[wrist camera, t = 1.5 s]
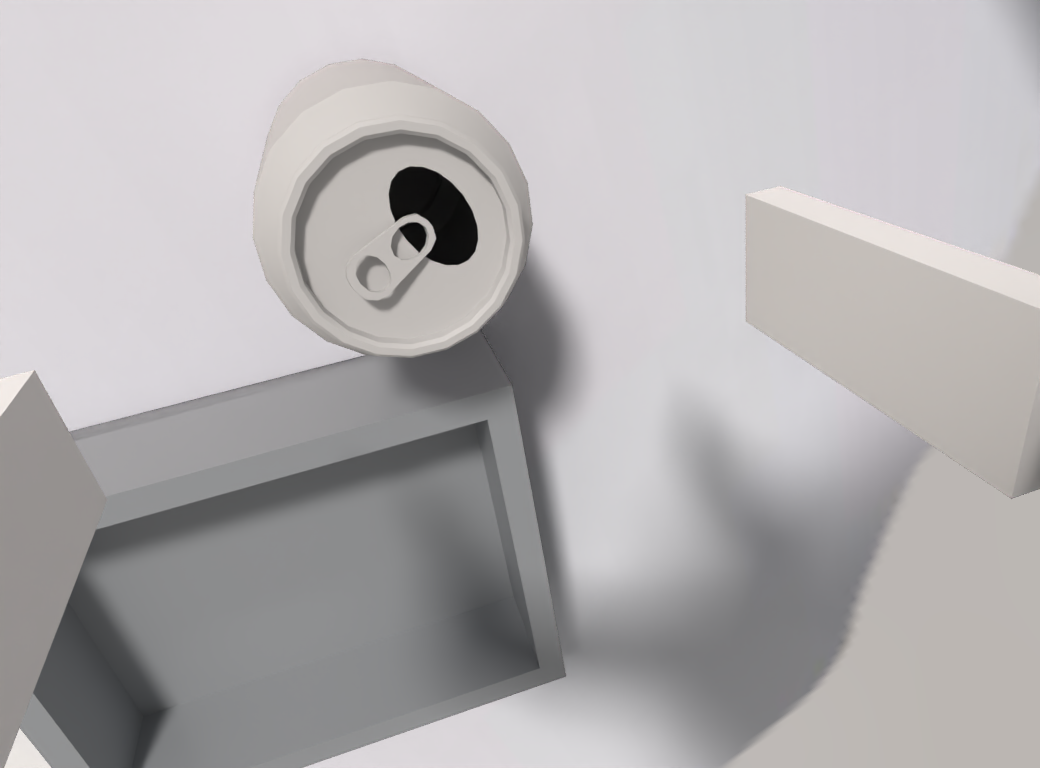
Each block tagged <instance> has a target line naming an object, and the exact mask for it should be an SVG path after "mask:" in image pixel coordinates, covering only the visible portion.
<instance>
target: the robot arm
mask: <svg viewBox="0 0 1040 768" xmlns="http://www.w3.org/2000/svg"><path fill="white" fill-rule="evenodd" d="M746 322H747V323H749V324H750V325H752V326H753V327H755V328H756V329H758V330H759V331H761V332H762V333H764V334H765V335H767V336H768V337H770V338H771V339H773V340H774V341H776V342H777V343H779V344H780V345H782V346H783V347H785V348H786V349H788V350H789V351H791V352H792V353H794V354H795V355H797V356H798V357H800V358H801V359H803V360H804V361H806V362H807V363H809V364H810V365H812V366H813V367H815V368H816V369H818V370H819V371H821V372H822V373H824V374H825V375H827V376H828V377H830V378H831V379H833V380H834V381H836V382H837V383H839V384H840V385H842V386H843V387H845V388H846V389H848V390H849V391H851V392H852V393H854V394H855V395H857V396H858V397H860V398H861V399H863V400H864V401H866V402H867V403H869V404H870V405H872V406H873V407H875V408H876V409H878V410H879V411H881V412H882V413H884V414H885V415H887V416H888V417H890V418H891V419H893V420H894V421H896V422H897V423H899V424H900V425H902V426H903V427H905V428H906V429H908V430H909V431H911V432H912V433H914V434H915V435H917V436H918V437H920V438H921V439H923V440H924V441H926V442H927V443H929V444H930V445H932V446H933V447H935V448H936V449H938V450H939V451H941V452H942V453H944V454H945V455H947V456H948V457H950V458H951V459H953V460H954V461H956V462H957V463H959V464H960V465H962V466H963V467H965V468H966V469H968V470H970V471H971V472H972V473H974V474H975V475H977V476H978V477H980V478H981V479H983V480H984V481H986V482H987V483H989V484H990V485H992V486H993V487H995V488H996V489H998V490H999V491H1001V492H1002V493H1004V494H1005V495H1007V496H1008V497H1010V498H1011V499H1012V498H1015V497H1018V496H1021V495H1024V494H1027V493H1029V492H1032V491H1035V490H1038V489H1040V275H1038V274H1035V273H1032V272H1030V271H1026V270H1023V269H1021V268H1018V267H1015V266H1012V265H1009V264H1006V263H1003V262H1000V261H998V260H995V259H992V258H989V257H986V256H983V255H980V254H977V253H974V252H971V251H968V250H965V249H963V248H960V247H957V246H954V245H951V244H948V243H945V242H942V241H939V240H936V239H933V238H930V237H928V236H925V235H922V234H919V233H916V232H913V231H910V230H907V229H904V228H901V227H898V226H895V225H893V224H890V223H887V222H884V221H881V220H878V219H875V218H872V217H869V216H866V215H863V214H860V213H858V212H855V211H852V210H849V209H846V208H843V207H840V206H837V205H834V204H831V203H828V202H825V201H823V200H820V199H817V198H814V197H811V196H808V195H805V194H802V193H799V192H796V191H793V190H791V189H788V188H785V187H782V186H778V187H774V188H770V189H766V190H762V191H758V192H754V193H750V194H746ZM106 502H107V499H106V497H105V495H104V493H103V492H102V490H101V488H100V486H99V484H98V483H97V481H96V479H95V477H94V476H93V474H92V472H91V470H90V468H89V467H88V465H87V463H86V461H85V459H84V458H83V456H82V454H81V452H80V450H79V449H78V447H77V445H76V443H75V441H74V440H73V438H72V436H71V434H70V433H69V431H68V429H67V427H66V425H65V424H64V422H63V420H62V418H61V416H60V415H59V413H58V411H57V409H56V407H55V406H54V404H53V402H52V400H51V398H50V397H49V395H48V393H47V391H46V390H45V388H44V386H43V384H42V382H41V381H40V379H39V377H38V375H37V373H36V372H35V370H33V371H29V372H25V373H21V374H17V375H13V376H9V377H4V378H0V768H4V766H5V764H6V761H7V759H8V756H9V753H10V751H11V748H12V746H13V743H14V740H15V738H16V735H17V733H18V730H19V727H20V725H21V722H22V720H23V717H24V714H25V712H26V709H27V707H28V704H29V701H30V699H31V696H32V694H33V691H34V689H35V686H36V683H37V681H38V678H39V676H40V673H41V670H42V668H43V665H44V663H45V660H46V657H47V655H48V652H49V650H50V647H51V644H52V642H53V639H54V637H55V634H56V631H57V629H58V626H59V624H60V621H61V618H62V616H63V613H64V611H65V608H66V605H67V603H68V600H69V598H70V595H71V592H72V590H73V587H74V585H75V582H76V579H77V577H78V574H79V572H80V569H81V567H82V564H83V561H84V559H85V556H86V554H87V551H88V548H89V546H90V543H91V541H92V538H93V535H94V533H95V530H96V528H97V525H98V522H99V520H100V517H101V515H102V512H103V509H104V507H105V504H106Z"/></svg>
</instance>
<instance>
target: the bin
mask: <svg viewBox="0 0 1040 768" xmlns="http://www.w3.org/2000/svg"><path fill="white" fill-rule="evenodd" d="M69 433H70V434H71V436H72V438H73V440H74V441H75V443H76V445H77V447H78V449H79V450H80V452H81V454H82V456H83V458H84V459H85V461H86V463H87V465H88V467H89V468H90V470H91V472H92V474H93V476H94V477H95V479H96V481H97V483H98V484H99V486H100V488H101V490H102V492H103V493H104V495H105V497H106V499H107V502H106V504H105V507H104V509H103V512H102V515H101V517H100V520H99V522H98V525H97V528H96V530H95V533H94V535H93V538H92V541H91V543H90V546H89V548H88V551H87V554H86V556H85V559H84V561H83V564H82V567H81V569H80V572H79V574H78V577H77V579H76V582H75V585H74V587H73V590H72V592H71V595H70V598H69V600H68V603H67V605H66V608H65V611H64V613H63V616H62V618H61V621H60V624H59V626H58V629H57V631H56V634H55V637H54V639H53V642H52V644H51V647H50V650H49V652H48V655H47V657H46V660H45V663H44V665H43V668H42V670H41V673H40V676H39V678H38V681H37V683H36V686H35V689H34V691H33V694H32V696H31V699H30V701H29V704H28V707H27V709H26V712H25V714H24V717H23V720H22V722H21V725H20V727H19V728H20V729H21V730H22V731H23V733H24V734H25V735H26V736H27V738H28V739H29V740H30V741H31V743H32V744H33V745H34V746H35V747H36V749H37V750H38V751H39V752H40V754H41V755H42V756H43V757H44V759H45V760H46V761H47V762H48V764H49V765H50V766H51V767H52V768H303V767H306V766H309V765H311V764H314V763H317V762H320V761H323V760H326V759H329V758H332V757H335V756H337V755H340V754H343V753H346V752H349V751H352V750H355V749H358V748H360V747H363V746H366V745H369V744H372V743H375V742H378V741H381V740H384V739H386V738H389V737H392V736H395V735H398V734H401V733H404V732H407V731H410V730H412V729H415V728H418V727H421V726H424V725H427V724H430V723H433V722H436V721H438V720H441V719H444V718H447V717H450V716H453V715H456V714H459V713H461V712H464V711H467V710H470V709H473V708H476V707H479V706H482V705H485V704H487V703H490V702H493V701H496V700H499V699H502V698H505V697H508V696H511V695H513V694H516V693H519V692H522V691H525V690H528V689H531V688H534V687H537V686H539V685H542V684H545V683H548V682H551V681H554V680H557V679H560V678H562V677H565V676H566V673H565V668H564V663H563V657H562V652H561V646H560V641H559V636H558V630H557V625H556V619H555V614H554V609H553V603H552V598H551V592H550V587H549V582H548V576H547V571H546V565H545V560H544V555H543V549H542V544H541V538H540V533H539V528H538V522H537V517H536V511H535V506H534V501H533V495H532V490H531V484H530V479H529V474H528V468H527V463H526V457H525V452H524V447H523V441H522V436H521V430H520V425H519V420H518V414H517V409H516V403H515V398H514V393H513V387H512V384H511V382H510V381H509V379H508V377H507V375H506V374H505V372H504V370H503V368H502V367H501V365H500V363H499V361H498V360H497V358H496V356H495V354H494V353H493V351H492V349H491V347H490V346H489V344H488V342H487V340H486V339H485V337H484V335H483V333H482V332H481V330H479V331H478V332H477V333H475V334H474V335H472V336H470V337H468V338H467V339H465V340H463V341H461V342H460V343H458V344H456V345H454V346H453V347H451V348H449V349H447V350H443V351H439V352H435V353H431V354H427V355H422V356H418V357H414V358H403V357H382V356H374V355H365V356H361V357H357V358H353V359H349V360H345V361H341V362H338V363H334V364H330V365H326V366H322V367H318V368H314V369H310V370H307V371H303V372H299V373H295V374H291V375H287V376H283V377H280V378H276V379H272V380H268V381H264V382H260V383H256V384H253V385H249V386H245V387H241V388H237V389H233V390H229V391H225V392H222V393H218V394H214V395H210V396H206V397H202V398H198V399H195V400H191V401H187V402H183V403H179V404H175V405H171V406H168V407H164V408H160V409H156V410H152V411H148V412H144V413H140V414H137V415H133V416H129V417H125V418H121V419H117V420H113V421H110V422H106V423H102V424H98V425H94V426H90V427H86V428H83V429H79V430H75V431H71V432H69Z"/></svg>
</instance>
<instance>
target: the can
mask: <svg viewBox="0 0 1040 768" xmlns="http://www.w3.org/2000/svg"><path fill="white" fill-rule="evenodd" d="M532 226H533V223H532V215H531V207H530V199H529V191H528V183H527V181H526V179H525V176H524V174H523V172H522V170H521V168H520V166H519V163H518V161H517V159H516V157H515V155H514V153H513V150H512V148H511V146H510V144H509V143H508V142H507V141H506V140H505V138H504V137H503V136H502V135H501V134H500V133H499V132H498V131H497V130H496V129H495V128H494V127H493V126H492V125H491V123H490V122H489V121H488V120H487V119H486V118H485V117H484V116H483V115H482V114H481V113H480V112H479V111H478V110H476V109H474V108H473V107H471V106H469V105H467V104H465V103H464V102H462V101H460V100H458V99H456V98H455V97H453V96H451V95H449V94H447V93H446V92H444V91H442V90H440V89H438V88H437V87H435V86H433V85H431V84H429V83H428V82H426V81H424V80H422V79H420V78H418V77H417V76H415V75H413V74H411V73H409V72H407V71H406V70H404V69H402V68H400V67H398V66H396V65H394V64H388V63H383V62H377V61H371V60H366V59H358V60H351V61H345V62H339V63H333V64H328V65H327V66H325V67H323V68H321V69H320V70H318V71H316V72H314V73H312V74H311V75H309V76H307V77H305V78H304V79H302V80H300V81H299V82H298V84H297V85H296V86H295V87H294V88H293V89H292V91H291V92H290V93H289V94H288V95H287V97H286V98H285V99H284V100H283V101H282V102H281V104H280V105H279V107H278V109H277V112H276V115H275V117H274V120H273V123H272V125H271V128H270V131H269V133H268V136H267V140H266V144H265V148H264V152H263V156H262V160H261V165H260V169H259V173H258V177H257V181H256V185H255V189H254V203H253V240H254V244H255V247H256V250H257V253H258V256H259V259H260V262H261V265H262V268H263V271H264V274H265V277H266V281H267V282H268V283H269V285H270V286H271V288H272V289H273V290H274V292H275V293H276V294H277V296H278V297H279V298H280V300H281V301H282V303H283V304H284V305H285V307H286V308H287V309H288V311H289V312H290V314H291V315H292V316H293V317H294V318H296V319H297V320H298V321H300V322H301V323H302V324H304V325H305V326H307V327H308V328H309V329H311V330H312V331H313V332H315V333H316V334H318V335H319V336H320V337H322V338H323V339H324V340H326V341H327V342H330V343H333V344H336V345H339V346H342V347H345V348H347V349H350V350H353V351H356V352H359V353H362V354H365V355H374V356H382V357H403V358H414V357H418V356H422V355H427V354H431V353H435V352H439V351H443V350H447V349H449V348H451V347H453V346H454V345H456V344H458V343H460V342H461V341H463V340H465V339H467V338H468V337H470V336H472V335H474V334H475V333H477V332H478V331H479V330H480V329H481V328H482V327H483V326H484V325H485V324H486V323H487V322H488V321H489V320H490V319H491V318H492V317H493V316H494V315H495V314H496V313H497V312H498V311H499V310H500V309H501V308H502V307H503V305H504V303H505V302H506V300H507V299H508V297H509V295H510V293H511V291H512V289H513V287H514V286H515V284H516V282H517V280H518V278H519V276H520V274H521V272H522V270H523V268H524V266H525V264H526V259H527V253H528V248H529V242H530V237H531V231H532Z"/></svg>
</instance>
